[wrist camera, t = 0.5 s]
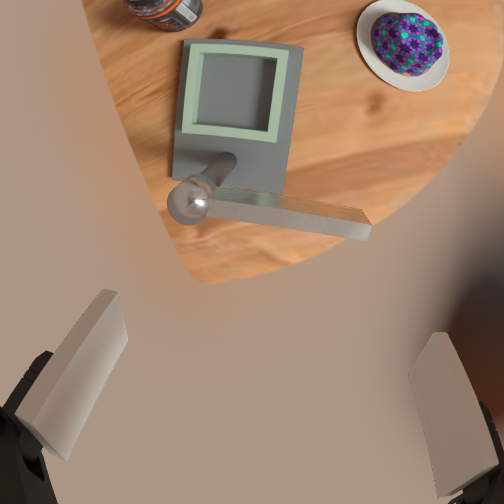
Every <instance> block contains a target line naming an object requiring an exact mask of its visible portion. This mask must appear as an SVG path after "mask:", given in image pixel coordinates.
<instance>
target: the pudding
mask: <svg viewBox="0 0 504 504" xmlns="http://www.w3.org/2000/svg"><path fill="white" fill-rule="evenodd" d="M390 12H400V13H399V14H392V15H385V16H382V17H381V18H380V19H379V26H377V27H375V28H374V29H373V31H372V38H373V40H374V41H375V42H376V43H377V45H376V48H375V50H376V53H377V55H378V56H379V57H380V59H381V60H383V61H386V62H388V64H389V66H390V68H391V69H392V70H393V71H395V72H397V73H400V74H402V73H404V72H407V73H409V74H410V75H412V76H418V75H420V74H422V73H423V72H424V71H425V70H426V69H427V68H430V67H431V66H432V65H433V66H432V67H431V69H430V70H429V71H428V72H427V73H425V74H423V75H421V76H418V77H405V76H402V75H399V74H397V73H395V72H393V71H391V70H390V69H388V68H387V67H386V66H385V65H384V64H383V63H382V62H381V61H380V60H379V58H378V57H377V55H376V54H375V52H374V50H373V47H372V44H371V29H372V26H373V24H374V22H375V21H376V19H377V18H379V17H380V16H381V15H383V14H386V13H390ZM357 41H358V45H359V48H360V51H361V53H362V55H363V57H364V59H365V61H366V62H367V64H368V65H369V67H370V68H371V69H372V70H373V71H374V72H375V73H376V74H377V75H378V76H379V77H380V78H381V79H383V80H384V81H385V82H387V83H389V84H390V85H392V86H394V87H397V88H399V89H402V90H406V91H415V92H417V91H424V90H427V89H430V88H432V87H434V86H436V85H437V84H438V83H439V82H440V81H441V80H442V79H443V77H444V76H445V74H446V72H447V69H448V65H449V48H448V44H447V41H446V38H445V36H444V34H443V32H442V30H441V28H440V27H439V25H438V24H437V23H436V21H435V20H434V19H433V18H432V17H431V16H430V15H429V14H428V13H427V12H425V11H424V10H423V9H421V8H420V7H418V6H416V5H414V4H412V3H410V2H407V1H404V0H379V1H377V2H374V3H372V4H371V5H369V6H368V7H367V8H366V9H365V10H364V11H363V12H362V14H361V16H360V18H359V20H358V24H357Z"/></svg>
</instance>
